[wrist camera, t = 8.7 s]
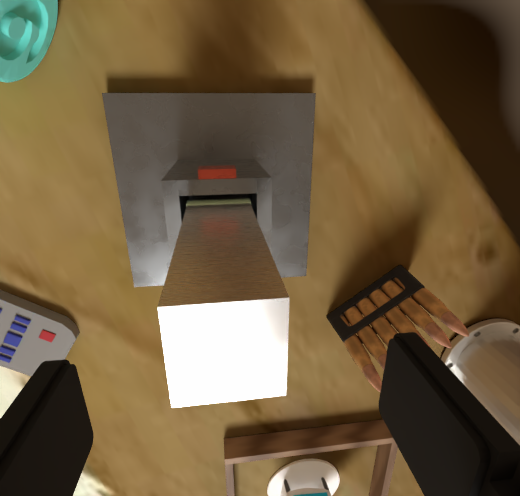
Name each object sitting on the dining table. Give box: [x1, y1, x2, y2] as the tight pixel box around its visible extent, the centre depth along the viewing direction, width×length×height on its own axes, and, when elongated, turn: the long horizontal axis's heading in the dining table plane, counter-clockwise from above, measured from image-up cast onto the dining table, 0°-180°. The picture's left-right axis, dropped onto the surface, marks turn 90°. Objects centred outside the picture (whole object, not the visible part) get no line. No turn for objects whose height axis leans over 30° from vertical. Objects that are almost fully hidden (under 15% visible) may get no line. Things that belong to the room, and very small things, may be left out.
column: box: [157, 194, 289, 408], centre depth 18 cm, size 4×4×16 cm
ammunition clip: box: [327, 265, 469, 392], centre depth 34 cm, size 11×2×12 cm, turn 127°
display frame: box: [224, 420, 398, 496], centre depth 50 cm, size 24×24×3 cm
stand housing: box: [102, 93, 316, 287], centre depth 28 cm, size 18×18×12 cm
